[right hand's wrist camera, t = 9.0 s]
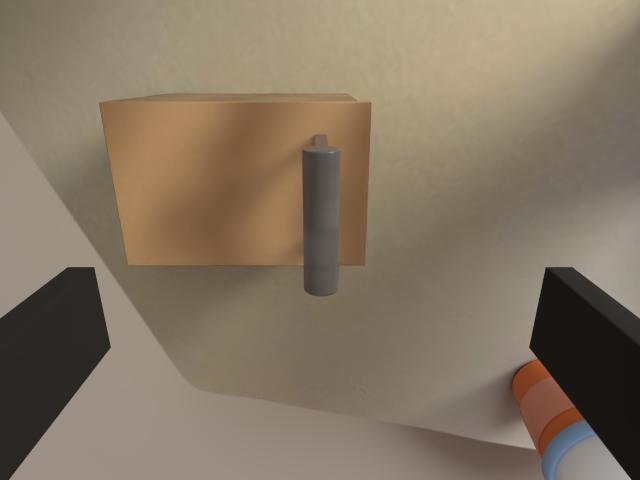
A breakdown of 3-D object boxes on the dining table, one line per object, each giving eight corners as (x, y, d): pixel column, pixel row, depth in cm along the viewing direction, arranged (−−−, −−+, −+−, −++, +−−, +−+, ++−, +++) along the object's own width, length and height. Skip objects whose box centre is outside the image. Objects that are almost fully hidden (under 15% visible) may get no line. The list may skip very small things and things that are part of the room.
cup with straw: (496, 420, 47) (595, 613, 30) (497, 350, 43) (609, 524, 27) (581, 411, 46) (730, 602, 29) (589, 340, 43) (761, 510, 26)
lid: (369, 100, 25) (391, 112, 17) (363, 258, 28) (379, 325, 21) (107, 100, 25) (14, 112, 17) (134, 258, 28) (66, 325, 21)
